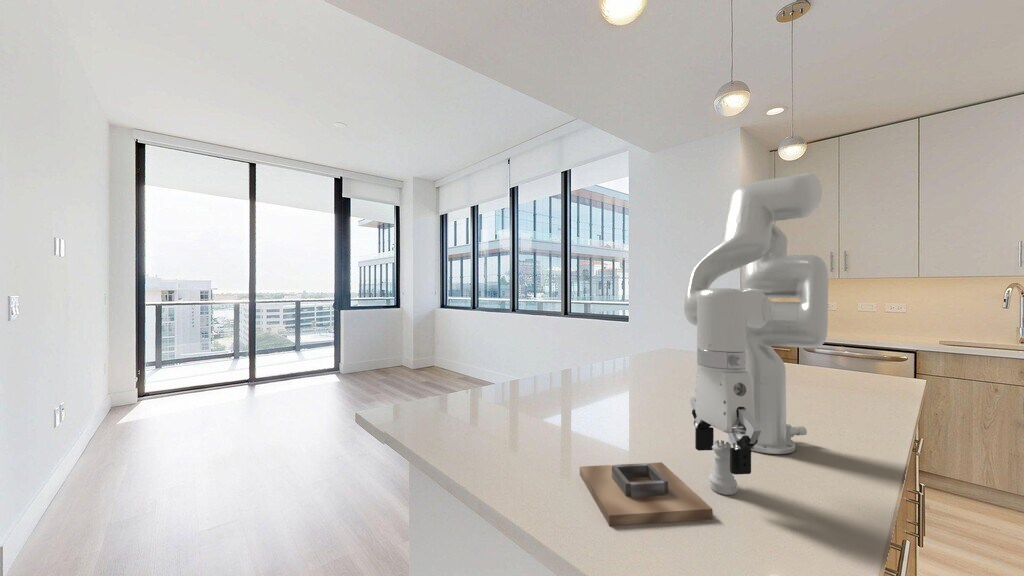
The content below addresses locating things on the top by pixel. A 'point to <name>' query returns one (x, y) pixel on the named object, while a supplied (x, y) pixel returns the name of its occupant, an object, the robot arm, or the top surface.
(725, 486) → the rook chess piece
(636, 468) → the jig board
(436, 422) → the top surface
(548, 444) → the top surface
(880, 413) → the top surface
